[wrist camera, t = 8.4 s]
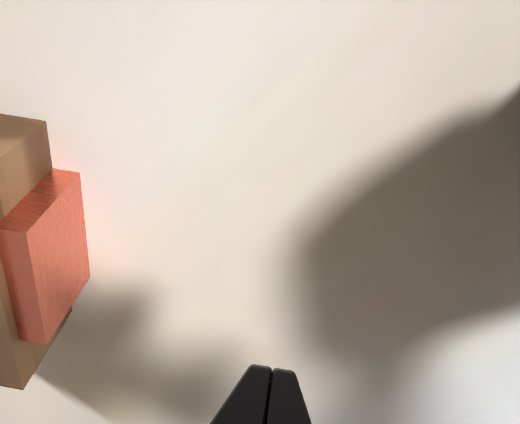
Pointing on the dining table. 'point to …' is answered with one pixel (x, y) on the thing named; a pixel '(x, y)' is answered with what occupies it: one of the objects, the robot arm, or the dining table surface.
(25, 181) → the block
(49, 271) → the pin
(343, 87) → the dining table surface
